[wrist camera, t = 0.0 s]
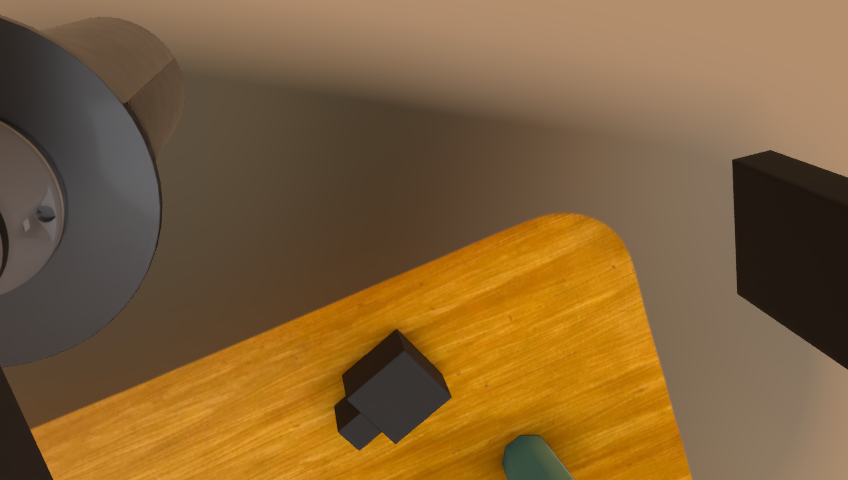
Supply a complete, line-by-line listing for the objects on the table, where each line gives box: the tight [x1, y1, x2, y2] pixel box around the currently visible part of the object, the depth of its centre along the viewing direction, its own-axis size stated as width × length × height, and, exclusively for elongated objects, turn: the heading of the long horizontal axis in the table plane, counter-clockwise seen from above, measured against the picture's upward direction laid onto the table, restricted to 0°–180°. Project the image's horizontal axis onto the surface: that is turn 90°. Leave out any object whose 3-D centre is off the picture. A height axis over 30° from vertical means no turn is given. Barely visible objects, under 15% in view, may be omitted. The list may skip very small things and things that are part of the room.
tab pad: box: [334, 329, 452, 451], centre depth 71 cm, size 7×10×4 cm
